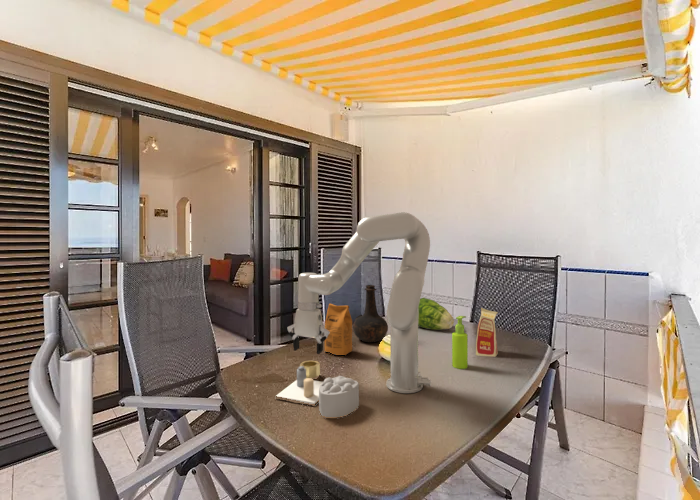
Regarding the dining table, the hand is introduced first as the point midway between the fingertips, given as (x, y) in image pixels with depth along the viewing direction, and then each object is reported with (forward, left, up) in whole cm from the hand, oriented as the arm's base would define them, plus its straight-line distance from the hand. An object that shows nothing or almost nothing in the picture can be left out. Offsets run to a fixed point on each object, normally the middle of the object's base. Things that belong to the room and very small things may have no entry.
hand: (307, 351), depth 131 cm
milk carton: (-63, -50, -10) cm, 81 cm away
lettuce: (-35, -83, -10) cm, 91 cm away
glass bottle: (-8, -52, -10) cm, 54 cm away
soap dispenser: (-53, -30, -10) cm, 62 cm away
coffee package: (0, -29, -10) cm, 31 cm away
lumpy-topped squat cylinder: (-20, +19, -10) cm, 29 cm away
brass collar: (-1, 0, -10) cm, 10 cm away
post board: (-6, +12, -10) cm, 17 cm away
